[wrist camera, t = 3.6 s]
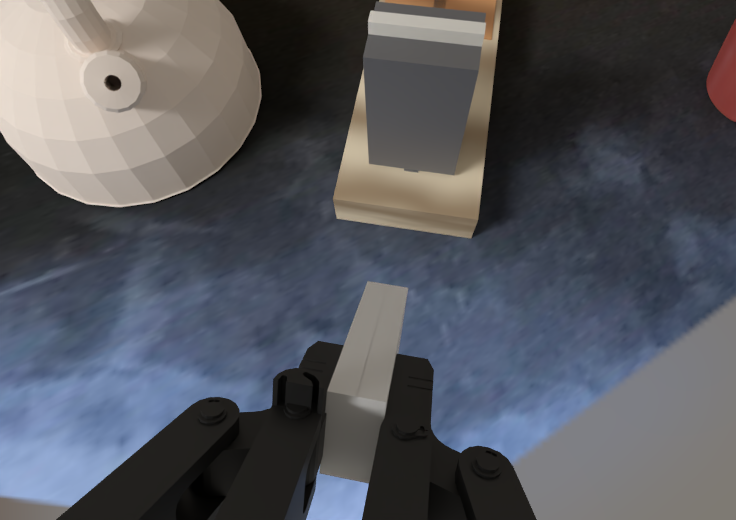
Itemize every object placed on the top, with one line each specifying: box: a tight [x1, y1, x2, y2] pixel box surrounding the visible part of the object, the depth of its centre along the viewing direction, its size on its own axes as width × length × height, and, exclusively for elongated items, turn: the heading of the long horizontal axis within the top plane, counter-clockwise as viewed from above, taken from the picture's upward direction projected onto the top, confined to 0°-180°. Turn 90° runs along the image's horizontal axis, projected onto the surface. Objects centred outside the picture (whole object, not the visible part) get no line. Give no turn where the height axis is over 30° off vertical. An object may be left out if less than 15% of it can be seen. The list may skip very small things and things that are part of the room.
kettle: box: [0, 0, 262, 207], centre depth 34 cm, size 20×21×18 cm
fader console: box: [333, 0, 502, 238], centre depth 40 cm, size 26×10×3 cm, turn 170°
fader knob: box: [363, 2, 486, 175], centre depth 31 cm, size 4×6×11 cm, turn 80°
